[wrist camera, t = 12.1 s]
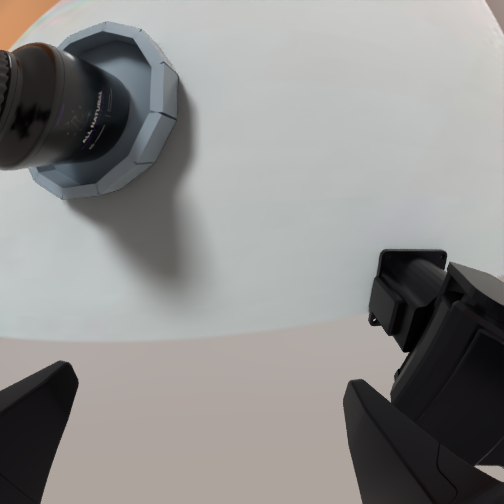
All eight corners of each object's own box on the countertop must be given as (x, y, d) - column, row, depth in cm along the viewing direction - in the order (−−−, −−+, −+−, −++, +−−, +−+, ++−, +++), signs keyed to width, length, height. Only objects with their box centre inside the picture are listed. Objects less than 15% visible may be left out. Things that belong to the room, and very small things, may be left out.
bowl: (181, 22, 14) (169, 4, 11) (178, 185, 18) (164, 190, 15) (49, 62, 15) (28, 56, 12) (46, 198, 19) (23, 205, 16)
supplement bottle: (143, 140, 17) (3, 135, 5) (69, 175, 17) (-59, 208, 6) (124, 57, 14) (10, -5, 3) (55, 98, 15) (-64, 88, 4)
